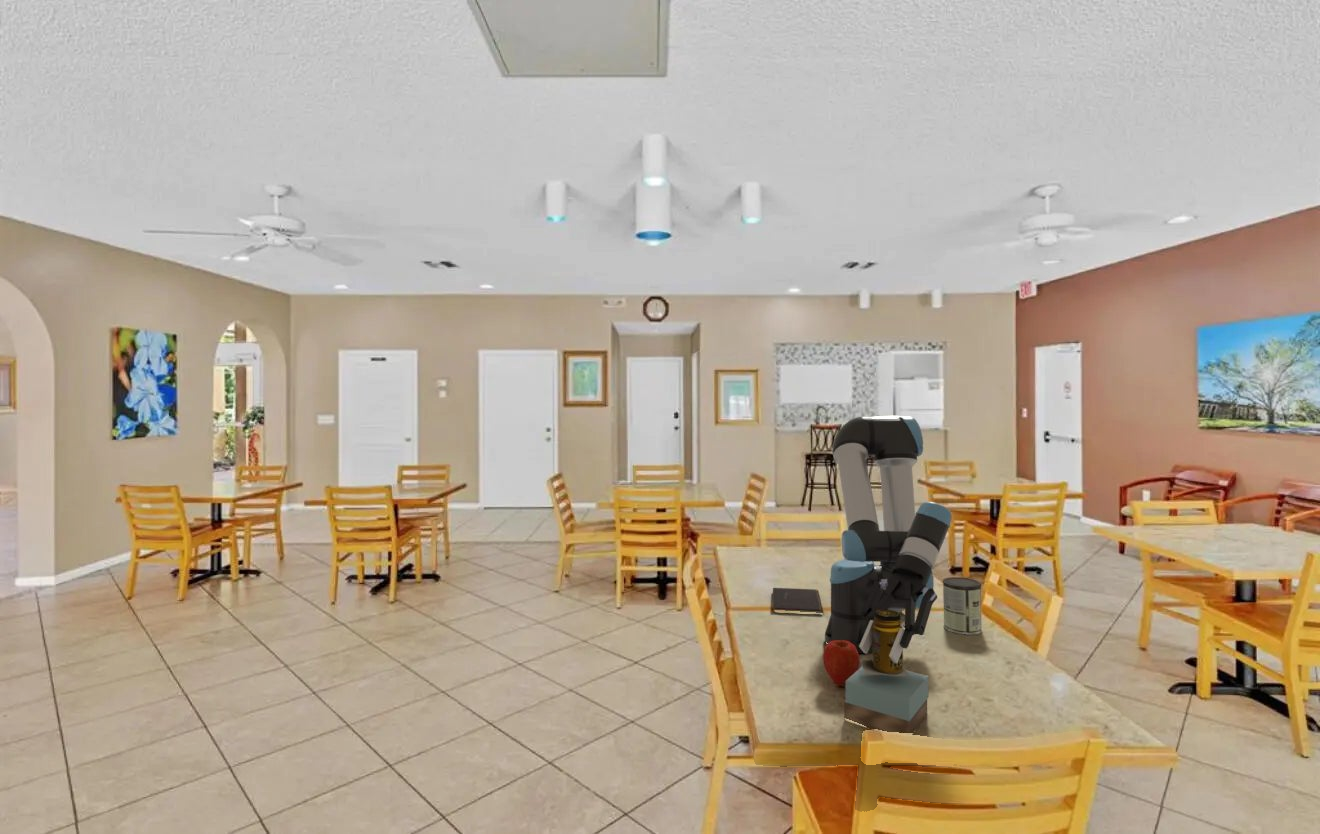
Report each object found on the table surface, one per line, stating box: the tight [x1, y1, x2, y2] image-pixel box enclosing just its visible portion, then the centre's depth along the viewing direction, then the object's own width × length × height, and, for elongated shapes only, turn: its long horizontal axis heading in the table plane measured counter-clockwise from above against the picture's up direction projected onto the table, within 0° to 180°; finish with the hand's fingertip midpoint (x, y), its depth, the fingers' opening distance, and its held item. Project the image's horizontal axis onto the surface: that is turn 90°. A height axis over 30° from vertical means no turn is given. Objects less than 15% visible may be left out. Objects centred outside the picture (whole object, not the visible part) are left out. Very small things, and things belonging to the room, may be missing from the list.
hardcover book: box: [772, 587, 824, 614], centre depth 209 cm, size 16×23×2 cm
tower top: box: [845, 666, 929, 721], centre depth 130 cm, size 13×13×4 cm
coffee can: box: [942, 576, 983, 636], centre depth 182 cm, size 10×10×14 cm
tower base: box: [843, 698, 928, 734], centre depth 130 cm, size 13×13×4 cm
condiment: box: [859, 609, 909, 676], centre depth 130 cm, size 7×8×12 cm
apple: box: [822, 640, 861, 687], centre depth 146 cm, size 9×8×11 cm
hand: (877, 654), depth 127 cm, fingers closed on condiment, 6 cm apart
